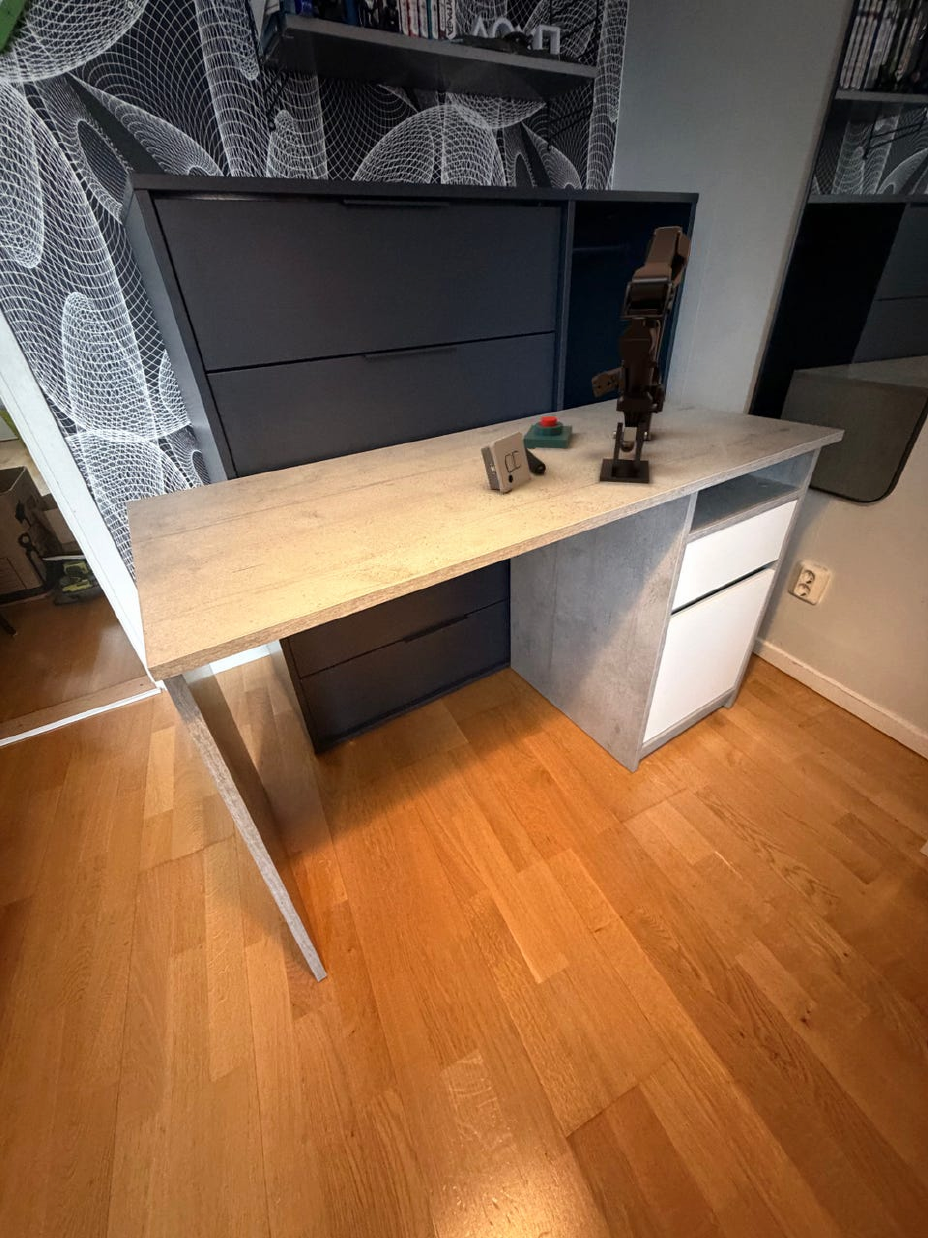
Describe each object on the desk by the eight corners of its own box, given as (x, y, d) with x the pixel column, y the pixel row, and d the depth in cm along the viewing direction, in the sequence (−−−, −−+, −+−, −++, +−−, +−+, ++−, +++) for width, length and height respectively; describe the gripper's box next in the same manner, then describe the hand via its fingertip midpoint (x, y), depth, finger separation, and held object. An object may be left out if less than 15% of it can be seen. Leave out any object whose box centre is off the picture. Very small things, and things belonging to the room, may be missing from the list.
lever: (618, 453, 105) (620, 438, 105) (633, 453, 104) (635, 439, 104) (620, 442, 92) (622, 425, 91) (637, 442, 91) (639, 425, 91)
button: (542, 423, 117) (542, 416, 116) (557, 424, 116) (557, 416, 115) (539, 427, 114) (540, 420, 113) (555, 428, 113) (555, 420, 112)
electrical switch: (504, 494, 92) (500, 443, 87) (482, 492, 95) (477, 442, 90) (531, 479, 97) (528, 431, 92) (509, 477, 100) (506, 430, 95)
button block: (531, 433, 123) (532, 417, 121) (571, 435, 120) (573, 418, 118) (522, 448, 114) (523, 430, 111) (566, 450, 111) (567, 431, 109)
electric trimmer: (532, 479, 98) (533, 463, 96) (505, 455, 110) (506, 441, 108) (549, 476, 99) (550, 461, 97) (521, 453, 111) (522, 439, 109)
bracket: (602, 464, 102) (607, 417, 97) (647, 466, 100) (655, 418, 95) (599, 482, 94) (604, 433, 89) (648, 485, 92) (657, 434, 86)
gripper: (599, 347, 102) (592, 424, 112) (593, 362, 88) (585, 450, 97) (656, 346, 100) (643, 426, 109) (658, 362, 85) (643, 452, 94)
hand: (628, 437), depth 102 cm, fingers closed, pressing on lever
